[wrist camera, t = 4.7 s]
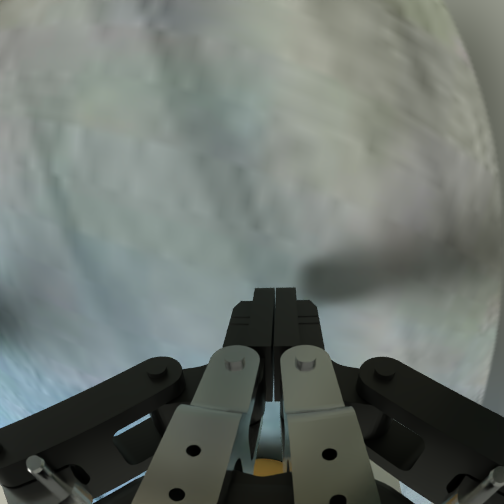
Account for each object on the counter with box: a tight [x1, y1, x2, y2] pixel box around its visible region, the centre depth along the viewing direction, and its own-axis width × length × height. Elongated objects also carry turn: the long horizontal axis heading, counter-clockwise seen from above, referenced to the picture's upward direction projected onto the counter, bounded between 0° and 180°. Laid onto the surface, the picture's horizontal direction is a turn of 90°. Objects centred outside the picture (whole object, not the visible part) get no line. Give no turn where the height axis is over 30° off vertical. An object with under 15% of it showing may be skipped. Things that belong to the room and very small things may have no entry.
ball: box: [253, 459, 283, 476], centre depth 15 cm, size 6×6×6 cm
